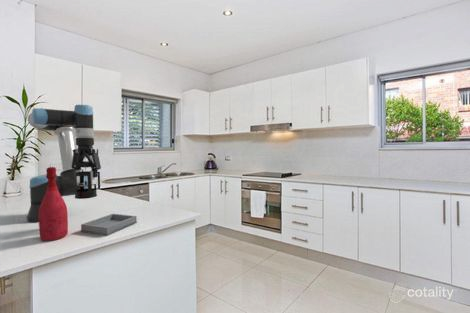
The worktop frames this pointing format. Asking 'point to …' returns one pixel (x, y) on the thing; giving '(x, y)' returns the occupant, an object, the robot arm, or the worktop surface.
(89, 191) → the french press
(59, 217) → the wine bottle
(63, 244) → the worktop surface
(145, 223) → the worktop surface
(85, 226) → the tray
